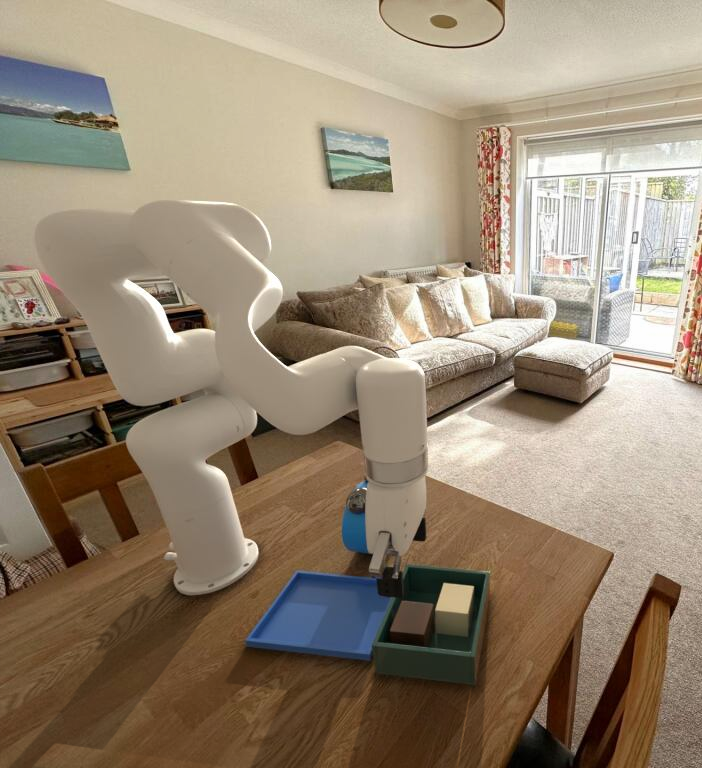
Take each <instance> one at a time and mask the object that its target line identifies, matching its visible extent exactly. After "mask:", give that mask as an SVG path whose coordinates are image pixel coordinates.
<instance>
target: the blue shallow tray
mask: <svg viewBox="0 0 702 768" xmlns="http://www.w3.org/2000/svg"><path fill="white" fill-rule="evenodd" d="M391 599H392V597H385V596H380V595H379V594H378V589H377V580H376V578H372V577H368V576H358V575H357V576H356V575H348V574H336V573H329V572H328V573H327V572H316V571H308V570H307V571H305V570H296V571H295V572H294V573H293V575H292V577H290V579H289V580H288V582H287V583H286V584H285V586H284V587H283V588H282V590H281V591H280V592H279V593H278V595H277V596H276V598H275V599H274V601H273V602H272V603H271V605H269V607H268V608H267V610H266V611H265V613H263V615H262V616H261V618H260V619H259V620H258V622H257V624H256V625H254V626H255V627H253V629H252V631H251V632H250V633H249V635H248V636H247V637H246V638H245V639H244V642H245V645H246V647H248V648H256V649H265V650H274V651H283V652H292V653H301V654H310V655H317V656H325V657H336V658H344V659H353V660H363V661H368V662H369V661H372V658H373V652H372V643H373V641H374V639H375V636H376V634H377V632H378V629H379V627H380V625H381V622H382V620H383V618H384V615H385V613H386V611H387V608H388V606H389V604H390V601H391Z"/></svg>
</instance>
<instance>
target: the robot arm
mask: <svg viewBox="0 0 702 768" xmlns="http://www.w3.org/2000/svg"><path fill="white" fill-rule="evenodd" d="M33 238H34V245H35V251H36V254H37V256H38V259H39V261H40V264H41V265H42V267H43V268H44V271H45V272H46V273H47V276H48V277H49V279H51V281H52V282H53V284H54V285H55V286H56V287H57V288H58V290H60V292H61V293H62V294H63V295H64V296H65V297H66V299H67V300H68V301H69V302H70V303H71V304H72V305H73V307H74V308H75V309H76V310H77V312H78V313H79V314H80V316H81V318H82V319H83V321H84V323H85V325H86V326H87V329H88V332H89V334H90V336H91V338H92V341H93V342H94V345H95V348H96V350H97V352H98V354H99V356H100V359H101V360H102V363H103V365H104V367H105V369H106V371H107V374H108V376H109V378H110V380H111V382H112V384H113V385H114V388H115V389H116V391H117V392H118V395H120V396H121V398H122V399H123V400H124V401H126V402H127V403H129V405H133V406H137V407H139V406H140V407H148V406H154V405H158V404H162V403H166V402H168V401H171V400H174V399H178V398H181V397H183V396H186V395H189V394H192V393H196V392H197V391H200V390H202V391H203V393H204V395H201V396H198V397H196V398H193V399H190V400H188V401H184V402H181V403H179V404H175V405H173V406H169V407H167V408H164V409H161V410H159V411H157V412H154V413H151V414H149V415H147V416H146V417H144V418H142V419H140V420H139V421H137V422H136V423H135V424H133V426H131V427H130V429H128V431H127V434H126V436H125V445H126V448H127V451H128V453H129V455H130V456H131V458H132V460H133V461H134V462H135V464H136V465H137V467H138V468H139V470H140V471H141V472H142V474H143V476H144V477H145V479H146V481H147V483H148V485H149V486H150V488H151V491H152V494H153V495H154V498H155V500H156V503H157V506H158V508H159V511H160V513H161V516H162V519H163V522H164V525H165V527H166V531H167V532H168V535H169V538H170V543H169V545H168V551H167V552H166V553H165V554H164V556H163V560H164V561H168V562H175V564H176V567H177V568H176V570H175V572H174V574H173V584H174V588H175V589H176V590H177V591H178V592H179V593H180V594H183V595H184V596H185V595H186V596H199V595H200V596H201V595H205V594H210V593H213V592H217V591H219V590H222V589H225V588H227V587H228V586H231V585H232V584H234V583H235V582H237V581H238V580H240V579H241V578H242V577H244V576H245V575H246V574H247V573H249V572H250V571H251V569H252V568H253V567H254V566H255V565H256V563H257V561H258V559H259V554H260V552H259V548H258V545H257V543H256V542H255V541H254V540H252V539H250V538H246V537H245V536H244V533H243V532H244V531H243V528H242V525H241V521H240V518H239V514H238V510H237V507H236V504H235V499H234V497H233V493H232V489H231V486H230V483H229V479H228V477H227V475H226V474H225V473H224V471H222V470H221V469H220V468H218V467H216V466H214V465H212V464H208V463H207V462H206V461H207V460H208V458H210V457H211V456H214V455H216V454H217V453H219V452H220V451H222V450H224V449H226V448H228V447H231V446H233V445H234V444H237V443H238V442H240V441H242V440H243V439H245V438H247V437H249V436H250V435H251V434H252V433H254V431H255V429H256V428H257V425H258V415H259V416H261V417H262V418H263V420H265V421H266V422H268V423H269V424H270V425H271V426H273V427H275V428H277V429H279V430H280V431H281V432H284V433H287V434H290V435H296V436H305V435H309V434H312V433H316V432H318V431H319V430H321V429H324V428H325V427H326V426H328V425H330V424H332V423H334V422H335V421H337V420H339V419H341V418H342V417H343V416H345V415H347V414H349V413H351V412H353V411H357V410H358V417H359V418H358V419H359V427H360V436H361V447H362V454H363V464H364V472H365V473H364V474H365V475H366V478H367V480H368V481H369V482H368V484H367V490H366V503H365V521H366V541H367V549H368V552H369V553H370V554H369V555H372V557H371V560H370V563H369V565H368V566H369V567H368V573H369V574H370V576H371V578H376V580H377V589H378V594H379V595H380V596H385V597H395V598H402V597H403V594H404V587H403V571H402V570H401V564H402V558H403V557H404V556H405V554H407V553H408V550H409V549H410V546H411V545H412V542H421V543H422V542H425V541H426V539H427V526H426V525H427V519H426V517H425V516H426V512H427V509H426V508H427V482H426V481H427V480H426V475H427V474H428V471H429V448H428V447H429V446H428V445H429V443H428V419H427V418H428V417H427V415H428V414H427V413H428V412H427V390H426V389H427V387H426V375H425V372H424V370H423V367H421V366H420V364H419V363H417V362H415V361H413V360H411V359H406V358H398V357H387V356H383V355H381V354H379V353H377V352H374V351H372V350H370V349H367V348H364V347H361V346H358V345H345V346H341V347H337V348H335V349H333V350H330V351H327V352H325V353H320V354H318V355H315V356H312V357H310V358H307V359H304V360H301V361H298V362H296V363H294V364H291V365H289V366H287V365H285V364H284V363H283V362H282V361H280V360H279V359H278V358H277V357H276V356H274V354H272V353H271V352H270V351H269V350H268V349H267V348H266V347H265V346H264V345H263V344H262V342H260V340H259V338H258V337H257V335H256V334H255V333H256V331H258V330H259V329H260V328H261V327H262V326H263V325H265V324H266V323H267V322H268V321H269V320H270V319H271V318H272V317H273V316H274V314H275V313H276V312H277V310H278V309H279V306H280V304H281V303H282V300H283V296H284V289H283V285H282V284H281V281H280V279H278V277H277V276H276V275H274V273H272V272H271V271H270V270H269V269H268V268H267V267H266V266H264V265H263V264H265V263H266V262H267V260H268V259H270V255H271V252H272V240H271V236H270V233H269V231H268V229H267V227H266V225H264V223H263V222H262V220H261V219H260V217H258V215H256V214H255V213H253V211H251V210H249V209H248V208H246V207H244V206H242V205H239V204H236V203H232V202H220V201H205V200H189V199H162V200H154V201H151V202H148V203H146V204H144V205H142V206H140V207H139V208H138V209H137V210H135V209H119V208H118V209H117V208H113V209H112V208H82V209H81V208H77V209H68V210H62V211H61V210H60V211H55V212H53V213H49V214H48V215H46V216H43V218H41V219H40V220H39V221H38V222H37V224H36V226H35V228H34V237H33ZM163 276H165V277H166V278H168V279H169V280H170V281H171V282H172V283H173V284H174V285H175V286H176V287H177V288H179V289H180V290H181V291H182V292H183V293H184V294H185V295H186V296H187V297H189V299H191V300H192V301H193V302H194V303H195V304H196V305H197V306H198V307H199V308H200V309H201V310H203V311H204V313H206V314H207V315H208V316H209V317H210V318H212V319H213V320H214V321H215V323H216V324H215V330H214V329H213V330H212V329H208V328H194V329H187V330H183V331H177V332H174V330H173V329H172V327H171V325H170V322H169V320H168V317H167V315H166V311H165V309H164V307H163V306H162V305H161V303H160V302H159V301H158V300H157V299H156V298H155V297H154V296H153V295H151V294H150V293H149V292H148V291H146V290H145V289H144V288H142V287H141V286H140V285H137V284H136V283H134V282H133V281H131V280H129V279H138V278H139V279H140V278H149V277H163ZM257 414H258V415H257ZM365 475H364V476H365ZM390 544H391V545H392V547H393V548H390V546H391V545H390ZM388 556H393V557H394V560H393V564H392V566H386V560H387V557H388Z"/></svg>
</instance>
